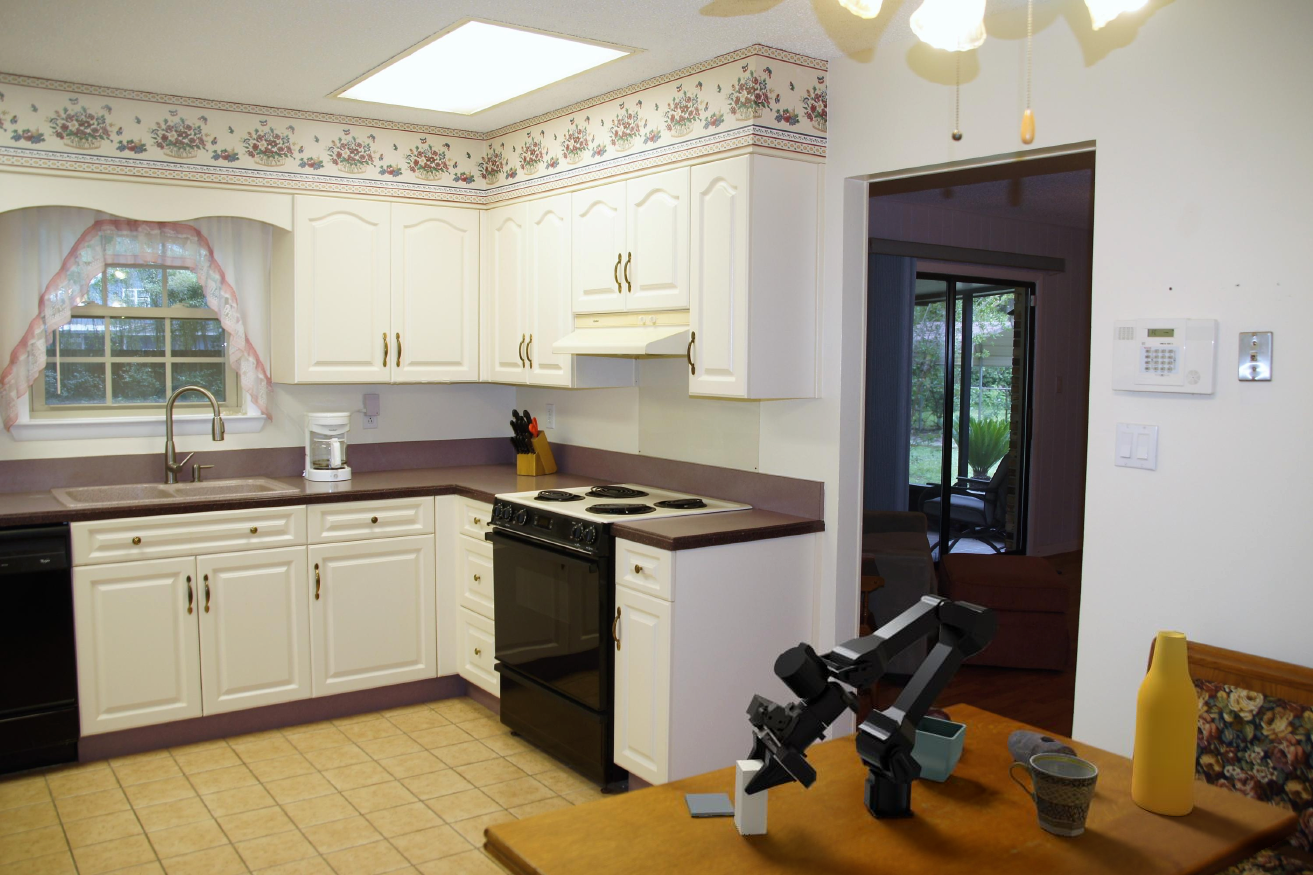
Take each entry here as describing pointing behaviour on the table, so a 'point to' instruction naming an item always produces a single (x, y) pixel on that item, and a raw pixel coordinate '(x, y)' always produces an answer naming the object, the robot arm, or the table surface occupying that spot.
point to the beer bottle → (1166, 731)
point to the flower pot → (938, 747)
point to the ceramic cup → (1060, 791)
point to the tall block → (749, 800)
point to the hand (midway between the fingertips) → (742, 786)
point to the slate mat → (709, 804)
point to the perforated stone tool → (1035, 746)
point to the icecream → (938, 714)
